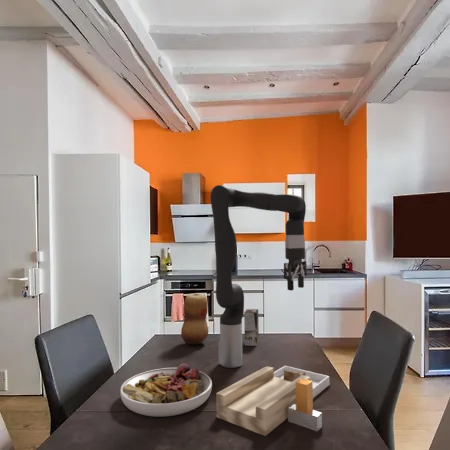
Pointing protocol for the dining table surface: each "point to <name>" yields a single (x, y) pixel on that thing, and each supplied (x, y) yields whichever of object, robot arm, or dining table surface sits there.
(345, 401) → the dining table surface
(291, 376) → the brown wooden cube
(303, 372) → the brown cube
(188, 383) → the bowl
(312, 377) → the tray
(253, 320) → the coffee box
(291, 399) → the channel board
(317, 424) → the scraper
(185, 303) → the butternut squash
